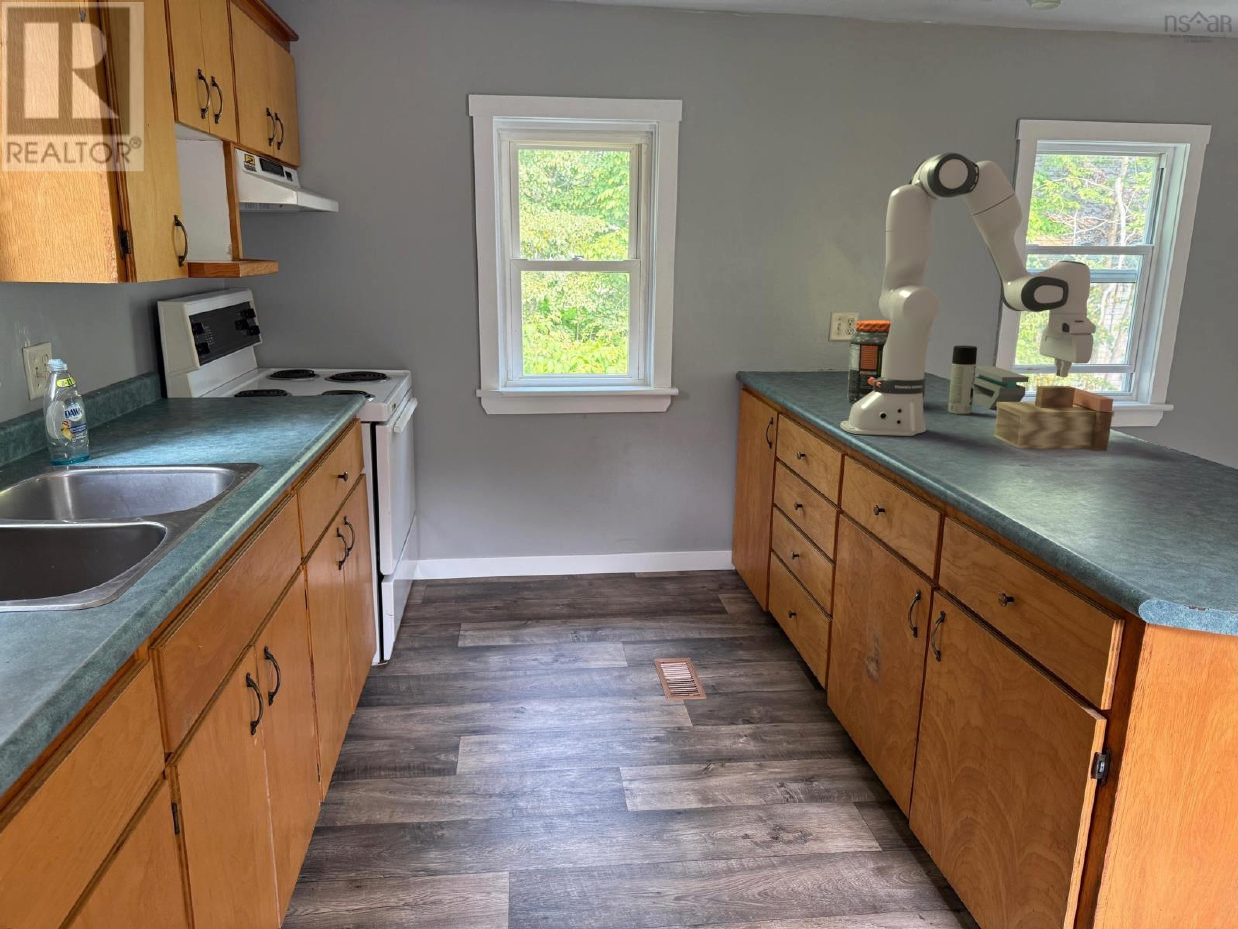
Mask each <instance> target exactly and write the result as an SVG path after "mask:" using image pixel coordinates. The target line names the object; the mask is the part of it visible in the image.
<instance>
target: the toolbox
mask: <svg viewBox="0 0 1238 929" xmlns="http://www.w3.org/2000/svg"><path fill="white" fill-rule="evenodd" d="M995 416H996V417H995V426H994V427H995V428H994V434H993V436H994V438H996V439H998V440H1000V441H1002V442H1004V443H1006V444H1008V445H1010V446H1012V447H1015V448H1016V449H1019V450H1023V449H1024V450H1025V449H1029V450H1030V449H1032V450H1033V449H1036V450H1037V449H1038V450H1039V449H1042V450H1043V449H1058V450H1059V449H1091V450H1092V451H1108V448H1109V442H1110V437H1111V436H1110V435H1111V428H1112V421H1113V417H1112V413H1111V412H1096V417H1021V416H1018V415H1016V414H1013V413H1011V412H1008V411H1006V410H1004V409H1001V408H999V407H997V409H996V415H995Z"/></svg>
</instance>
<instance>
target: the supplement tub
mask: <svg viewBox="0 0 1238 929" xmlns="http://www.w3.org/2000/svg"><path fill="white" fill-rule="evenodd" d="M890 325H891V322H890V321H888V320H881V319H880V320H878V319H877V320H876V319H874V320H872V319H869V320H857V321H856V324H855V331H854V333H853V334H852V335H851V337H850V340H849V358H848V359H849V360H848V379H847V399H848V401H849V402H851V403H853V404H855V403H856V402H858V401H859V400H861V399H862V398H863V397H865V396H866V395H868V394H869V393H871V392H872V391H873V385H871V384H869V383H868V381H870V380H868V379H870V378H871V377H873V378H875V379H878V378H879V377H881V372H882V358H883V348H884V345H885V344H886V341H887V338H888V334H889V330H890Z"/></svg>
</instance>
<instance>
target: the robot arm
mask: <svg viewBox="0 0 1238 929" xmlns="http://www.w3.org/2000/svg"><path fill="white" fill-rule="evenodd" d="M955 197H959V198H961V199H962V200H963V202H964V203H965V204H966V205H967V208H968V210H969V213H970V214H971V218H972V219H973V221H974V223H975V225H976V227H977V229H978V230H979V233H980V235H981V237H983V241H984V242H985V244H986V246H987V249H988V252H989V254H990V256H991V259H992V262H993V264H994V267H995V269H996V272H997V275H998V277H999V281H1000V297H1001V300H1002V303H1003V305H1004V306H1005V307H1007V308H1008V309H1009V310H1012V311H1014V312H1027V313H1042V312H1045V311H1049V314H1048V323H1047V325H1046V326H1045V329H1043V331H1042V334H1041V339H1040V345H1039V354H1040V356H1043V357H1046V358H1047V357H1048V358H1052V359H1054V361H1053V362H1054V366H1055V376H1057V377H1059V378H1067V377H1068V376H1069V371H1070V369H1071V367H1072V364H1081V365H1082V364H1088V363H1090V361H1091V359H1092V355H1093V354H1092V353H1093V348H1094V336H1093V334H1095V333H1096V332H1097V331H1096V330H1097V326H1096V324H1095V323H1093V321H1091V320H1090V318H1088V308H1087V306H1088V305H1087V304H1088V303H1087V302H1088V300H1089V297H1090V291H1091V270H1090V267H1089V266H1088V265H1087V264H1086V263H1083V262H1079V261H1074V260H1066V259H1065V260H1060V261H1057V263H1055V264H1054V265H1052V266H1050V267H1049V268H1046V269H1045V270H1043V271H1040V272H1036V273H1035V274H1033V273H1031V272H1029V271H1028V270H1027V269H1026V268H1025V266H1024V264H1023V262H1022V259H1021V256H1020V253H1019V250H1018V249H1017V246H1016V243H1015V234H1016V232H1017V229H1018V228H1019V226H1020V225H1021V222H1022V220H1023V219H1022V218H1023V212H1022V208H1021V204H1020V201H1019V199H1018V196H1017V194H1016V193H1015V190H1014V188H1013V186H1012V184H1011V183H1010V181H1009V180H1008V178H1007V176H1006V175H1005V173H1004V172H1003V171H1002V169H1001V168H1000V166H999V165H998V164H997V162H994V161H992V160H982V161H978V162H973V161H972V160H970V159H969V158H968V157H966V156H965V155H963V154H961V153H957V152H952V151H951V152H945V153H938V154H935V155H932V156H930V157H928V158H927V159H925V160H923V161H922V162H920V164H919V165H918V166H917V167H916V169H915V171H914V172H913V175H912V176H911V179H910V180H909V182H908V184H904V185H901V186H899V187H897V188H896V189H894V190H892V192H891V193H890V195H889V198H888V204H887V210H886V220H885V231H886V232H885V267H884V274H883V280H882V287H881V295H880V297H879V300H878V308H879V311H880V313H881V314H882V316H883V317H884V318H885V320H886V321H890V322H891V325H890V330H889V334H888V338H887V341H886V344H885V345H884V348H883V358H882V372H881V377H879V378H878V379H875V378H873V377H871V378H870V379H868V380H870V381H868V383H869V384H871V385H873V391H872V392H871V393H869V394H868V395H866V396H865V397H863V398H862V399H861V400H859V401H858V402H856V403H853V404H852V406H851V408H850V409H851V410H850V412H849V416H848V420H843V421H841V422H840V425H839V426H840V428H841V429H842V430H844V431H845V432H846V433H851V434H855V435H877V436H902V437H903V436H906V437H911V436H915V435H917V434H921V433H925V432H926V431H927V428H926V424H925V417H924V414H925V413H924V399H925V394H926V378H925V370H926V359H927V358H926V357H927V351H928V350H927V349H928V347H929V346H928V345H929V342H930V341H929V340H930V339H931V338H930V337H931V334H932V330H933V326H934V323H935V320H936V319H937V317H938V316H939V314H940V313H939V312H940V308H941V306H940V305H941V303H940V299H939V297H938V296H937V295H936V293H935V292H934V291H933V290H931V289H930V288H929V287H927V286H925V278H926V273H927V269H928V266H929V263H930V262H931V248H932V247H931V246H932V244H931V242H932V239H931V238H932V237H931V234H932V230H931V227H932V225H931V224H932V222H931V219H932V218H931V214H932V210H933V207H934V205H935V203H936V202H937V201H944V200H947V199H950V198H955Z"/></svg>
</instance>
